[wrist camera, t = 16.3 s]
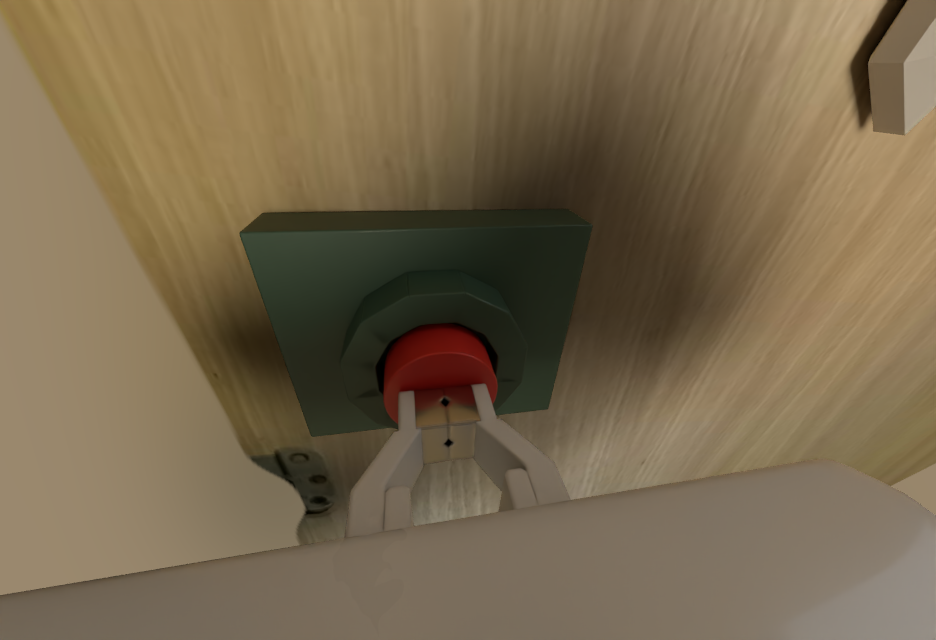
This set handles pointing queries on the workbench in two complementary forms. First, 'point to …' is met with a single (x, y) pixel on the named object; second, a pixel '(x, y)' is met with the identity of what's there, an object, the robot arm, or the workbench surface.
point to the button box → (414, 298)
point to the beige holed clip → (904, 69)
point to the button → (436, 362)
